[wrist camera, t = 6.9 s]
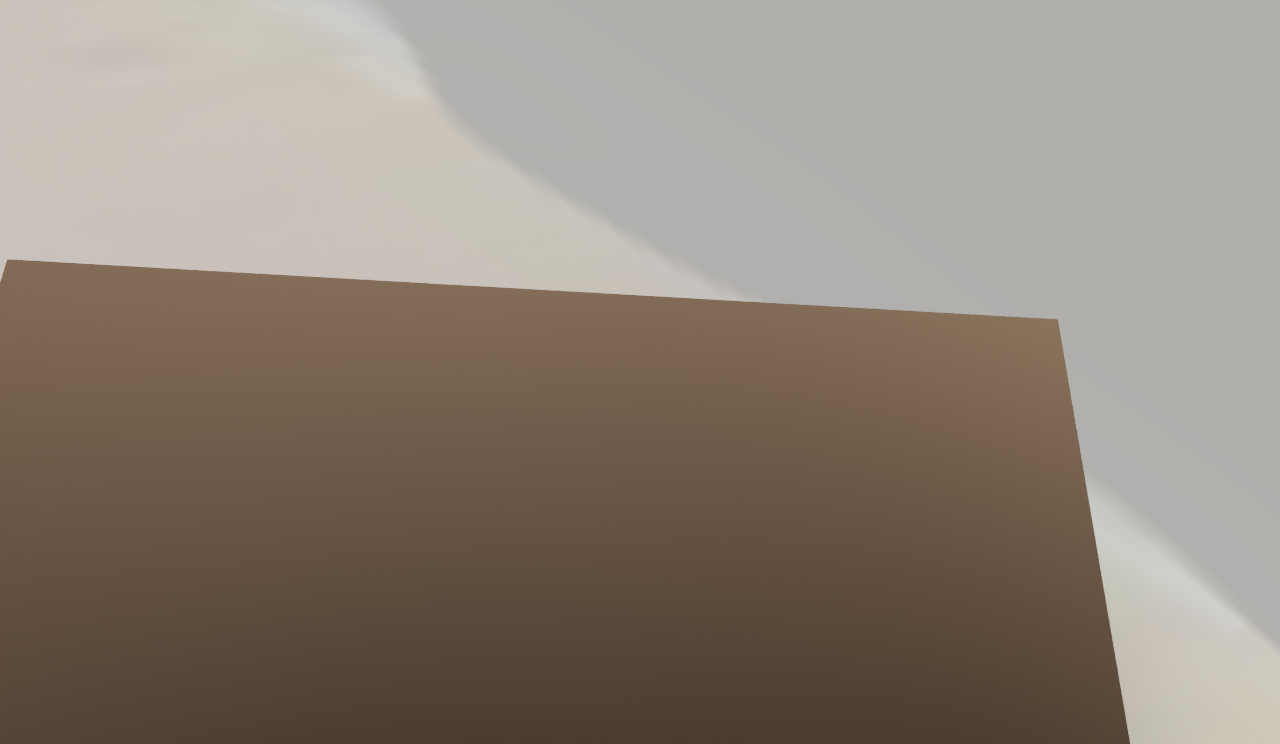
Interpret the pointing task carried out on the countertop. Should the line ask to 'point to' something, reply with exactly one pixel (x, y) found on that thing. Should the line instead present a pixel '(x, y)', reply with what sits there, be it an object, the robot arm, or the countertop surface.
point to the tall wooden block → (534, 519)
